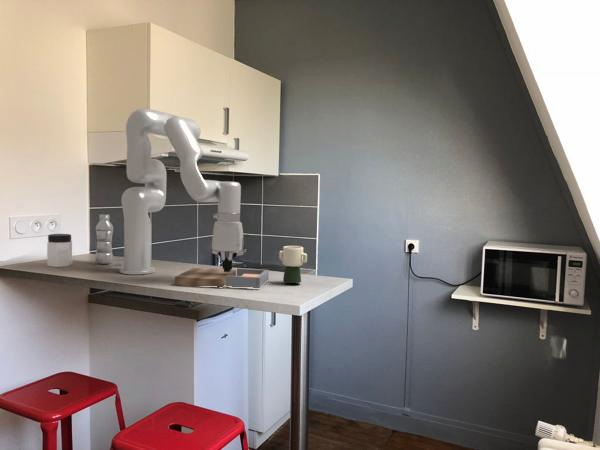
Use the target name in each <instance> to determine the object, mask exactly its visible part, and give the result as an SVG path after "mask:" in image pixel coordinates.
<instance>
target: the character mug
mask: <svg viewBox="0 0 600 450" xmlns="http://www.w3.org/2000/svg"><path fill="white" fill-rule="evenodd" d="M278 254H279V255H278V259H279V261H282V265H283V266H285V268H284V273H283V278H282V279H283V280H282V282H283V284H287V283H296V284H301V283H302V275H301V268H300V267H301V266H302V265H304V264H306V263H307V262H308V254H307V253H305V252H304V247H303V246H300V245H285V246H282V250H279V252H278ZM300 282H301V283H300Z"/></svg>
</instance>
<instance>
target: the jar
mask: <svg viewBox="0 0 600 450" xmlns="http://www.w3.org/2000/svg"><path fill="white" fill-rule="evenodd" d="M47 240H48V241H47V243H46V245H47V248H46V249H47V251H46V253H47V257H46V258H47V259H46V261H47V263H46V264H47V265H46V266H47V267H50V268H51V267H52V268H53V267H54V268H62V267H63V268H64V267H70V266H72V264H73V241H72V234H69V233H51V234H48V235H47Z"/></svg>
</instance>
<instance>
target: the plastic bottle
mask: <svg viewBox="0 0 600 450" xmlns="http://www.w3.org/2000/svg"><path fill="white" fill-rule="evenodd" d="M98 219H99V221H98V223H97V224H96V226H95V233H96V241H97V242H96V252H95V263H96V264H98V265H99V264H100V265H108V264H112V262H113V259H114V255H113V247H112V242H113V241H112V240H113V233H114V226H113V224H112V223H111V221H110V214H107V213H106V214H104V213H103V214H100V213H99V218H98Z"/></svg>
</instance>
